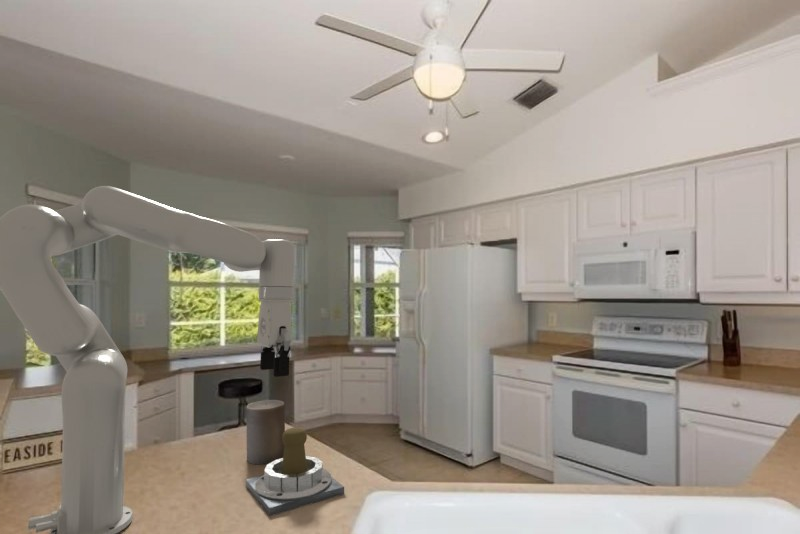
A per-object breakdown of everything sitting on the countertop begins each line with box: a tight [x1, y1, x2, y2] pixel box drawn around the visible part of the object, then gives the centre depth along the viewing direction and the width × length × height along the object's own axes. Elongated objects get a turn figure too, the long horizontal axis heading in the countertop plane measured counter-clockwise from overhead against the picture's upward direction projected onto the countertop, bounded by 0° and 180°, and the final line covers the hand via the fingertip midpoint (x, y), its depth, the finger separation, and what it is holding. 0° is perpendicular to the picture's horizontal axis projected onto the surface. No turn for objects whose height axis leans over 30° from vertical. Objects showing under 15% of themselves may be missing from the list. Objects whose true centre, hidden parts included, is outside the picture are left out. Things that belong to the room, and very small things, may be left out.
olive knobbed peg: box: [281, 427, 308, 475], centre depth 98 cm, size 6×6×11 cm
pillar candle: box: [245, 398, 286, 465], centre depth 117 cm, size 10×10×15 cm
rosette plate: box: [245, 455, 345, 517], centre depth 98 cm, size 16×16×5 cm
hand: (274, 372), depth 100 cm, fingers open, 9 cm apart
